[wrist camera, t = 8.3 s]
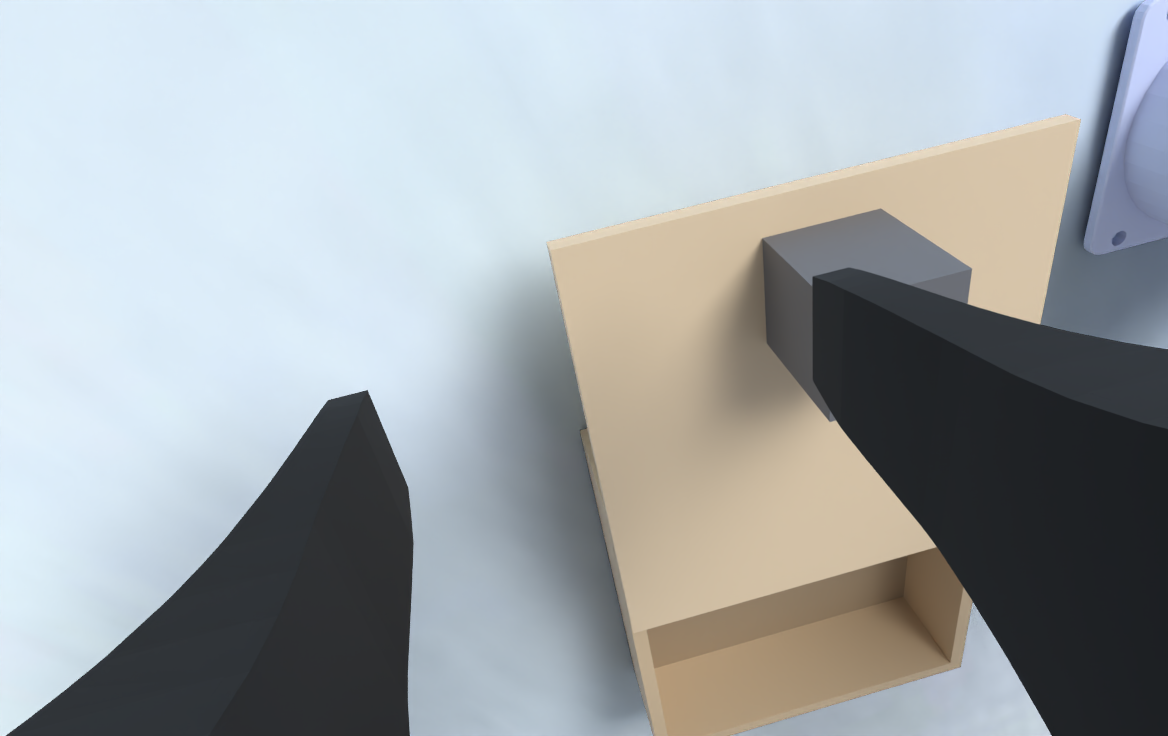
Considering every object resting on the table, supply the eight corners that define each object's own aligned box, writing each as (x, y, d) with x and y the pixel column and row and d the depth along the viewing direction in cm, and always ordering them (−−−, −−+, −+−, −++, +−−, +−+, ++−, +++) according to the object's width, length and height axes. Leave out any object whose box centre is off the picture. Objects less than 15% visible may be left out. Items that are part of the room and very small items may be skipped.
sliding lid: (1065, 114, 18) (1212, 163, 15) (990, 519, 26) (1075, 610, 23) (546, 242, 17) (579, 324, 14) (629, 620, 25) (663, 731, 22)
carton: (934, 336, 26) (1009, 399, 23) (906, 592, 34) (960, 666, 31) (579, 430, 26) (605, 510, 22) (634, 670, 33) (659, 756, 30)
